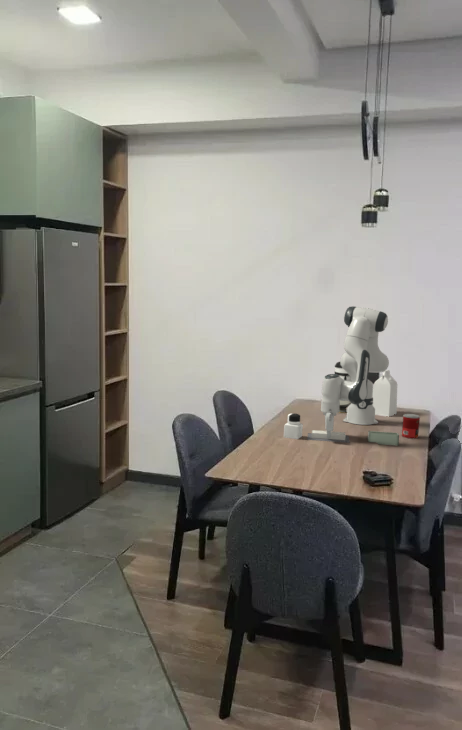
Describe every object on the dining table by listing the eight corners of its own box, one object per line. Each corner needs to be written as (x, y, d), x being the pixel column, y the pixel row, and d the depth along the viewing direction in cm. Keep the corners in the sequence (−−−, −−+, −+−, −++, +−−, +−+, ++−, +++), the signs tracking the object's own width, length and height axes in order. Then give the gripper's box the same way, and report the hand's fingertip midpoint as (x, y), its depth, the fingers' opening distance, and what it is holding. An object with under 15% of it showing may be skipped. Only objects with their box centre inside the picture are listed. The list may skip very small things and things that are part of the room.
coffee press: (330, 406, 393) (333, 358, 389) (330, 402, 409) (333, 355, 405) (359, 408, 390) (362, 360, 387) (358, 403, 406) (361, 357, 402)
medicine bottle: (302, 437, 310) (303, 413, 308) (297, 440, 304) (298, 416, 302) (288, 435, 313) (289, 411, 311) (283, 438, 306) (284, 414, 305)
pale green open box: (367, 440, 309) (368, 430, 308) (397, 443, 307) (397, 432, 306) (368, 443, 304) (369, 433, 303) (398, 445, 302) (399, 435, 301)
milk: (378, 411, 385) (381, 368, 382) (396, 413, 379) (399, 370, 375) (370, 413, 376) (373, 370, 372) (388, 416, 369) (391, 372, 366)
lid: (311, 435, 313) (312, 427, 312) (344, 437, 311) (345, 430, 310) (311, 438, 307) (312, 430, 306) (345, 440, 305) (345, 432, 304)
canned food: (418, 439, 316) (420, 417, 315) (402, 437, 318) (403, 416, 317) (417, 435, 324) (419, 414, 322) (401, 434, 325) (402, 413, 324)
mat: (307, 434, 317) (307, 433, 317) (348, 437, 314) (348, 435, 314) (307, 441, 303) (307, 439, 303) (349, 444, 301) (349, 442, 300)
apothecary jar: (332, 408, 386) (333, 379, 384) (352, 410, 384) (354, 380, 382) (332, 412, 374) (334, 382, 372) (353, 414, 373) (355, 383, 370)
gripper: (337, 412, 296) (335, 441, 298) (336, 404, 316) (334, 431, 318) (323, 411, 297) (321, 440, 299) (323, 403, 317) (321, 430, 319)
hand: (328, 435), depth 309 cm, fingers closed on lid, 6 cm apart
